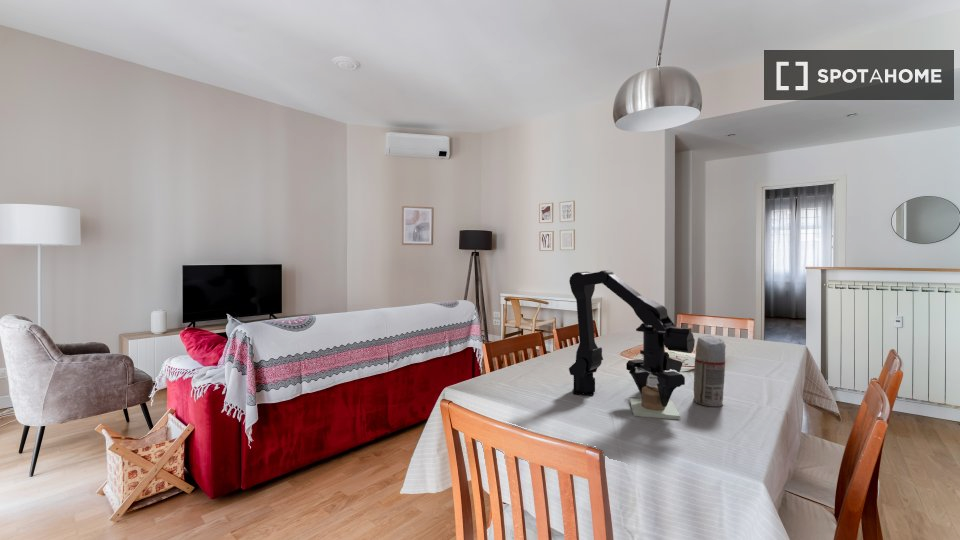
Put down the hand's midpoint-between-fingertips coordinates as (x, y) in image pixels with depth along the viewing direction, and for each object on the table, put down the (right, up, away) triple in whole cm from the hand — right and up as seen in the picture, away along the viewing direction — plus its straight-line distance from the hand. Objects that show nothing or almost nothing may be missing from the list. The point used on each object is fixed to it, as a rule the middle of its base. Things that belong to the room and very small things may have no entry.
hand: (653, 401), depth 123 cm
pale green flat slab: (0, -3, 0) cm, 3 cm away
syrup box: (+8, -2, +18) cm, 19 cm away
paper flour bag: (+19, -2, +5) cm, 20 cm away
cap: (0, -2, 0) cm, 2 cm away
